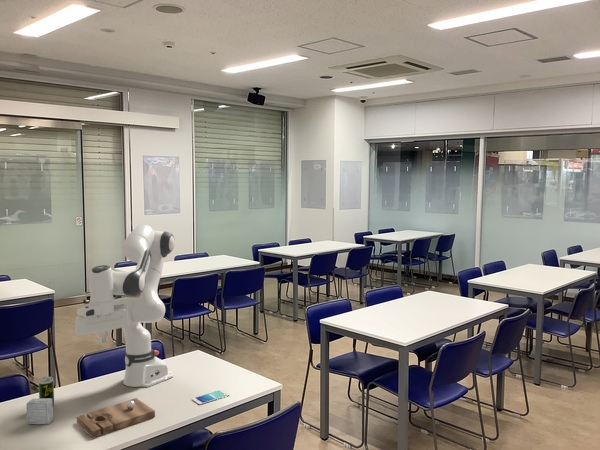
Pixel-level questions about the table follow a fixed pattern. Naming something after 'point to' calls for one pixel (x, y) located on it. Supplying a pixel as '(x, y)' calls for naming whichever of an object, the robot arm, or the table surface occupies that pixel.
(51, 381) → the beer can
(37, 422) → the medicine box
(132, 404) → the ball
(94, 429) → the grooved wooden board
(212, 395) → the smartphone
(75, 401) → the table surface
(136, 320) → the robot arm
